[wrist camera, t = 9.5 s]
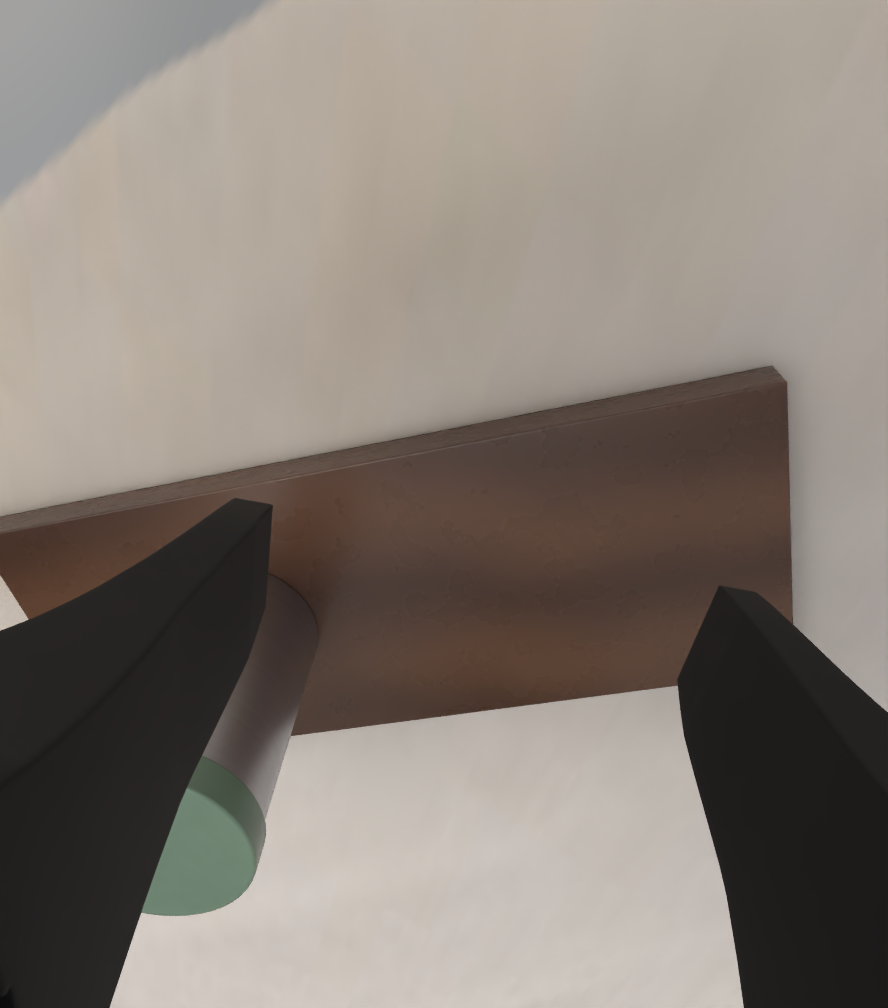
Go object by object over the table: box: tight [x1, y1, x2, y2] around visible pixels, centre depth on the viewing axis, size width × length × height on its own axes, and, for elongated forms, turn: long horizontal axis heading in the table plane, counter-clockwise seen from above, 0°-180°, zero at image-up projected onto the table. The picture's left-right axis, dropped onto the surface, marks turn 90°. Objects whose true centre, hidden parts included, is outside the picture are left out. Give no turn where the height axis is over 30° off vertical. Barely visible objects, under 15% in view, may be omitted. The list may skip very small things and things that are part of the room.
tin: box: [141, 574, 318, 916], centre depth 22 cm, size 5×5×8 cm
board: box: [0, 366, 793, 736], centre depth 25 cm, size 10×24×1 cm, turn 103°
